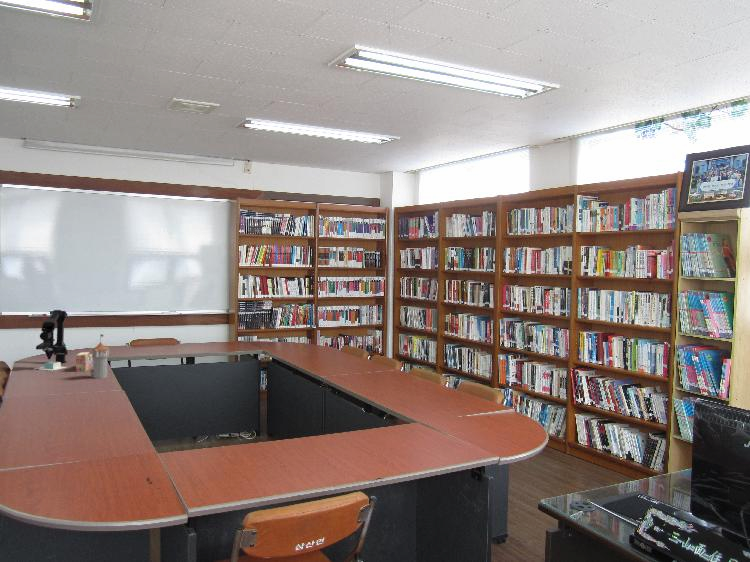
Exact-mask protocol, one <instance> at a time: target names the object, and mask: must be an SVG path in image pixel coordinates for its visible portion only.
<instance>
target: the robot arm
mask: <svg viewBox="0 0 750 562" xmlns="http://www.w3.org/2000/svg"><path fill="white" fill-rule="evenodd" d="M67 318H68V312H66V311H64V310H61V309H54V310H53V311H52V313H51V315H50V316H49V318H48V319H46V320H45V321H44V322H42V325H41V333H40V334H39V339H41V340H42V342H41V343H39V344H38V345H36V347H35V349H36V350H37V351H38V350H42V352H44V353H45V354H46V357H47V359H48V360H51V358H52V356H55V362H61V364H65V363H68V361H66V356H67V355H68V353H69V351H68V349H67V346H66V343H65V342H64V339H65V338H64V335H65V322H66V321H67ZM55 330H56V341H55V338H54V333H55ZM54 342H55V343H54Z"/></svg>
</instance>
